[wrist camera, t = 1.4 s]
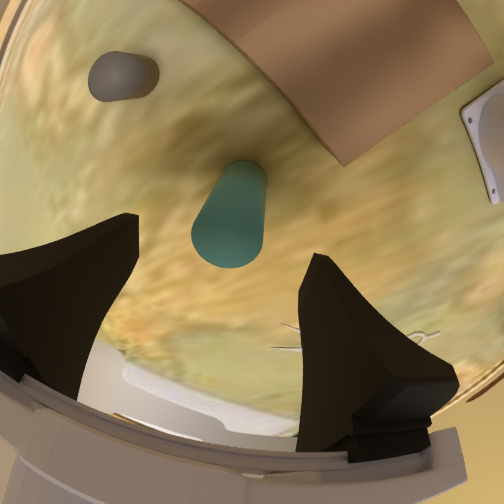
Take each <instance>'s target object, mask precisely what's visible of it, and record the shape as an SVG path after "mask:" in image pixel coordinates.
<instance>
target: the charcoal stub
mask: <svg viewBox="0 0 504 504" xmlns="http://www.w3.org/2000/svg"><path fill="white" fill-rule="evenodd" d="M158 80H159V68H158V66H157V64H156V62H155V61H154V60H152V59H151V58H149V57H145V56H140V55H135V54H130V53H124V52H118V51H112V52H108V53H106V54H104V55H102V56H101V57H99V58H98V59H97V60H96V61H95V63H94V64H93V66H92V68H91V70H90V72H89V76H88V87H89V90H90V93H91V94H92V96H93V97H94V98H95V99H97V100H99V101H102V102H111V101H118V100H125V99H133V98H141V97H144V96H146V95H148V94H149V93H150V92H151V91H152V90H153V89H154V88H155V86H156V85H157V83H158Z"/></svg>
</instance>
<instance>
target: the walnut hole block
mask: <svg viewBox="0 0 504 504" xmlns="http://www.w3.org/2000/svg"><path fill="white" fill-rule="evenodd" d="M179 1H181V2H182V3H183V4H185V5H186V6H187V7H189V8H190V9H191V10H192V11H194V12H195V13H196V14H198V15H199V16H200V17H201V18H203V19H204V20H205V21H206V22H207V23H209V24H210V25H211V26H212V27H213V28H214V29H216V30H217V31H218V32H219V33H220V34H221V35H223V36H224V37H225V38H226V39H227V40H228V41H229V42H230V43H231V44H233V45H234V46H235V47H236V48H237V49H238V50H239V51H240V52H241V53H242V54H243V55H244V56H245V57H246V58H247V59H248V60H249V61H250V62H251V63H252V64H253V65H254V66H255V67H256V68H257V69H258V70H259V71H260V72H261V73H262V74H263V75H264V76H265V77H266V78H267V79H268V80H269V81H270V82H271V83H272V84H273V85H274V86H275V87H276V88H277V90H278V91H279V92H280V93H281V94H282V95H283V96H284V97H285V98H286V99H287V101H288V102H289V103H290V104H291V105H292V106H293V107H294V109H295V110H296V111H297V112H298V113H299V114H300V116H301V117H302V118H303V119H304V120H305V122H306V123H307V124H308V125H309V126H310V128H311V129H312V130H313V131H314V133H315V134H316V135H317V136H318V138H319V139H320V140H321V142H322V143H323V144H324V145H325V147H326V148H327V149H328V151H329V152H330V153H331V154H332V155H333V156H334V157H335V158H336V159H337V160H338V161H339V163H340V164H341V165H342V166H343V167H345V166H346V165H347V164H349V163H350V162H352V161H353V160H354V159H356V158H357V157H359V156H360V155H361V154H363V153H364V152H366V151H367V150H368V149H370V148H371V147H373V146H374V145H375V144H377V143H378V142H380V141H381V140H383V139H384V138H385V137H387V136H388V135H390V134H391V133H393V132H394V131H395V130H397V129H398V128H400V127H401V126H403V125H404V124H405V123H407V122H408V121H410V120H411V119H413V118H414V117H415V116H417V115H418V114H420V113H421V112H423V111H424V110H426V109H427V108H429V107H430V106H431V105H433V104H434V103H436V102H437V101H439V100H440V99H442V98H443V97H445V96H446V95H448V94H449V93H450V92H452V91H453V90H455V89H456V88H458V87H459V86H461V85H462V84H464V83H465V82H467V81H468V80H470V79H471V78H473V77H474V76H476V75H477V74H479V73H480V72H482V71H483V70H485V69H486V68H488V67H489V66H491V65H492V64H494V63H493V61H492V59H491V57H490V55H489V53H488V51H487V49H486V47H485V45H484V43H483V42H482V40H481V38H480V36H479V35H478V33H477V31H476V29H475V28H474V26H473V25H472V23H471V21H470V20H469V18H468V17H467V15H466V14H465V12H464V11H463V9H462V8H461V6H460V5H459V3H458V2H457V1H456V0H179Z"/></svg>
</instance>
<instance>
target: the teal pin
mask: <svg viewBox="0 0 504 504" xmlns="http://www.w3.org/2000/svg"><path fill="white" fill-rule="evenodd" d="M266 183H267V181H266V176H265V173H264V172H263V170H262V169H261V168H260V167H259V166H258V165H257V164H255V163H253V162H251V161H247V160H240V161H235V162H233V163H231V164H230V165H228V166H227V167H226V168H225V170H224V171H223V173H222V175H221V176H220V178H219V180H218V181H217V183H216V185H215V186H214V188H213V190H212V191H211V193H210V195H209V197H208V198H207V200H206V202H205V204H204V205H203V207H202V209H201V211H200V212H199V214H198V216H197V218H196V219H195V221H194V223H193V226H192V231H191V238H192V242H193V245H194V248H195V249H196V251H197V252H198V254H199V255H200V256H201V257H202V258H203V259H204V260H206V261H207V262H209V263H211V264H213V265H215V266H218V267H222V268H237V267H241V266H244V265H246V264H248V263H250V262H251V261H253V260H254V259H255V258H256V257H257V255H258V254H259V252H260V250H261V248H262V244H263V231H264V216H265V200H266Z"/></svg>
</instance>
